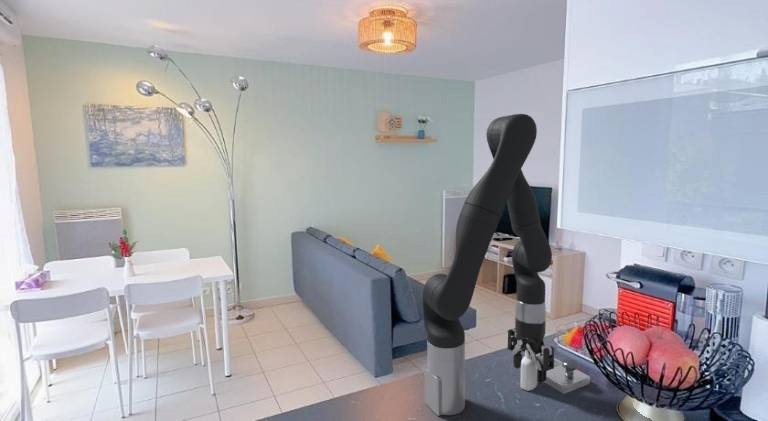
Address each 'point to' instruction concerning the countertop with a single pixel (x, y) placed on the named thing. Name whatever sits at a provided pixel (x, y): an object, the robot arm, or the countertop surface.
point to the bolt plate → (562, 381)
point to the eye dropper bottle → (528, 372)
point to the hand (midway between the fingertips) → (529, 374)
